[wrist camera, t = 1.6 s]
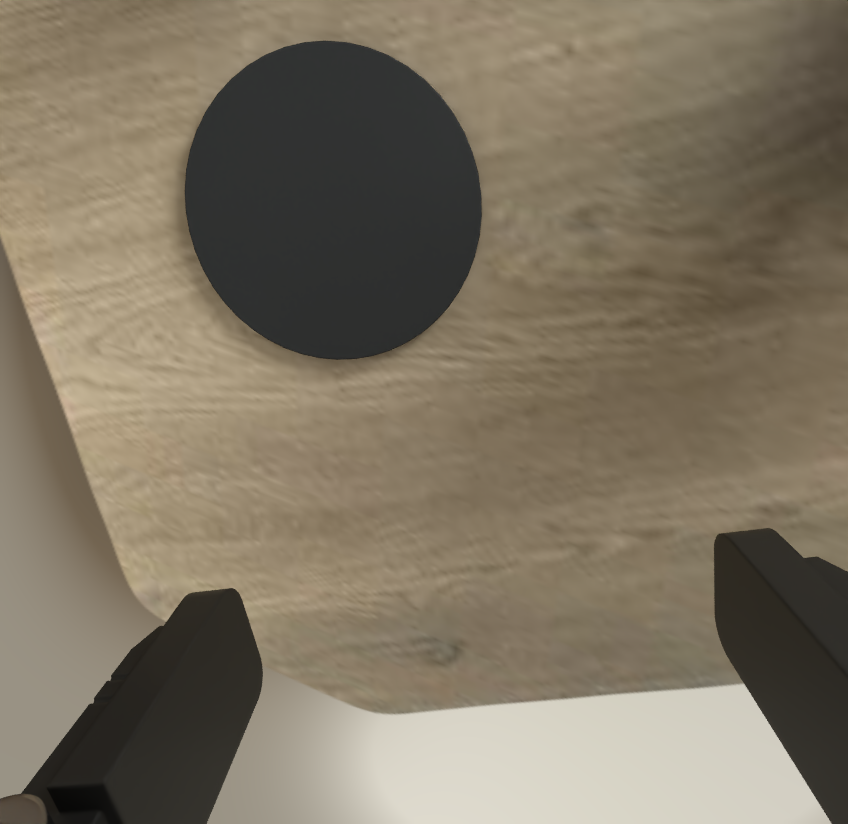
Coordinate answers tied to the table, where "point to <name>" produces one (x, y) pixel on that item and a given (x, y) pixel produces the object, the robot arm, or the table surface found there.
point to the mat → (333, 200)
